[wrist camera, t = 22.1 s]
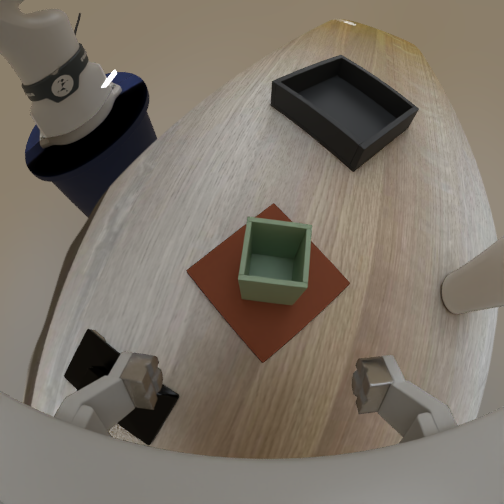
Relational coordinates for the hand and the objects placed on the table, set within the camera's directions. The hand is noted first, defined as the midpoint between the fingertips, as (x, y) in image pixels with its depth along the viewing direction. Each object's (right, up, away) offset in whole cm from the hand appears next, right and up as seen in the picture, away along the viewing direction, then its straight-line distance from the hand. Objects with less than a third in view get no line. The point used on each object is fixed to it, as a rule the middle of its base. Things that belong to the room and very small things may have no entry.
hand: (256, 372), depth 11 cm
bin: (+13, +25, +27) cm, 39 cm away
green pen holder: (+2, +2, +18) cm, 18 cm away
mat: (+2, +2, +18) cm, 19 cm away
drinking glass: (+25, 0, +18) cm, 30 cm away
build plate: (-14, -9, +14) cm, 22 cm away
